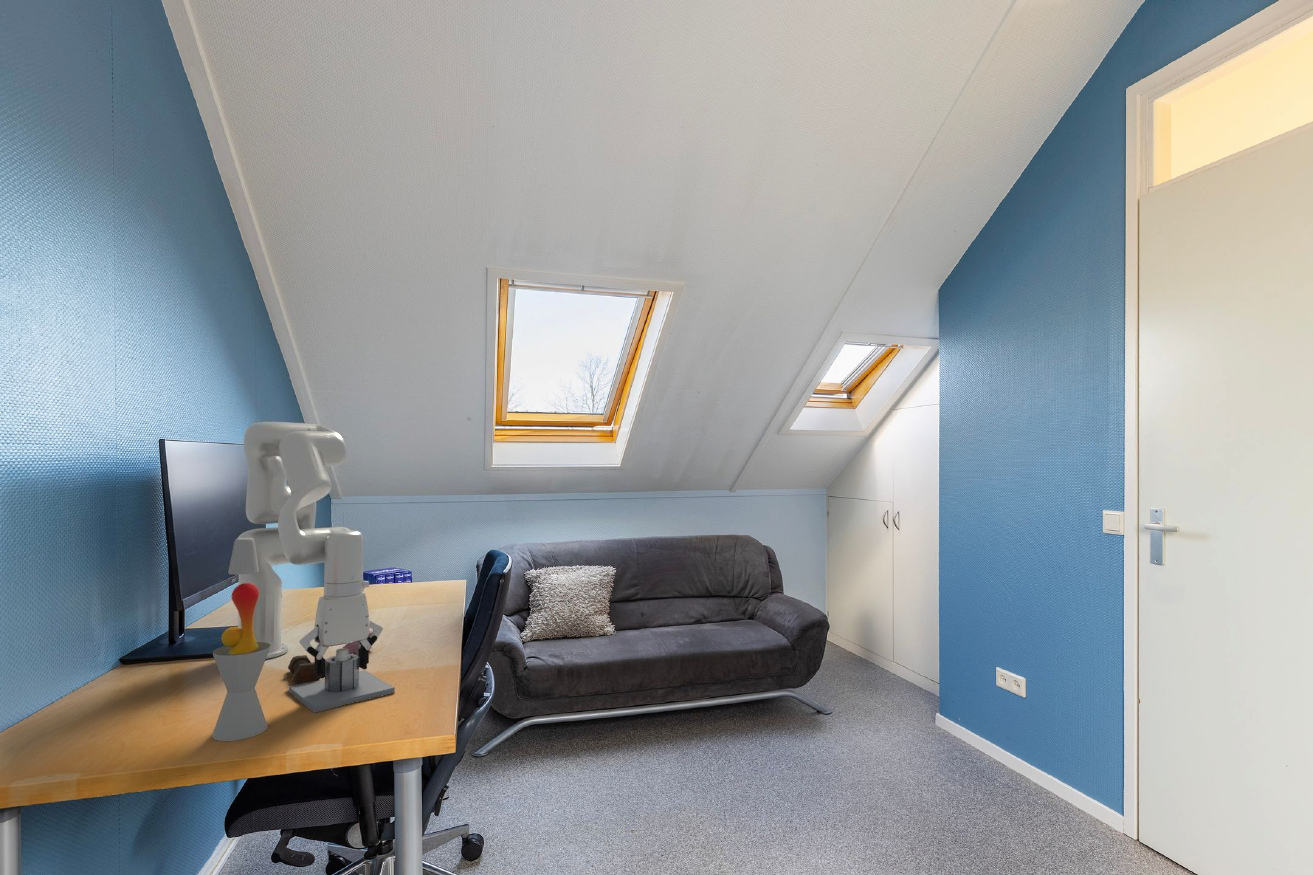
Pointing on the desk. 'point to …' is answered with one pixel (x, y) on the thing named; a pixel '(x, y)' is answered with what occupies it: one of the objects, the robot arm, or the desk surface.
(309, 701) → the post stand
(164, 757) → the desk surface
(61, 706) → the desk surface
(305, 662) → the bolt
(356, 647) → the pink animal figurine
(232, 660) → the lava lamp
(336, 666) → the collar
